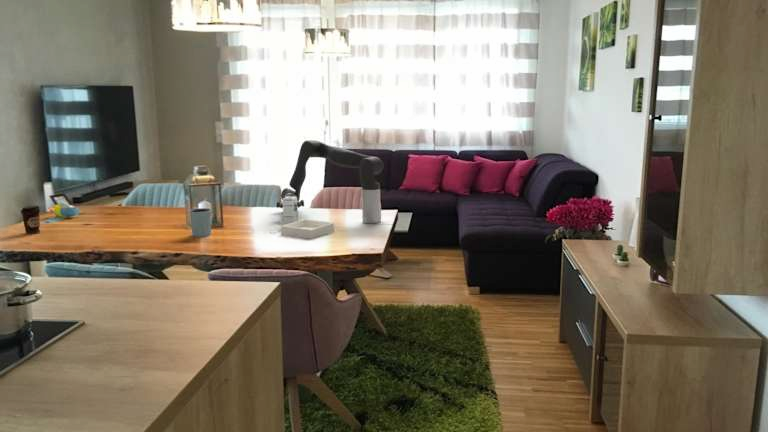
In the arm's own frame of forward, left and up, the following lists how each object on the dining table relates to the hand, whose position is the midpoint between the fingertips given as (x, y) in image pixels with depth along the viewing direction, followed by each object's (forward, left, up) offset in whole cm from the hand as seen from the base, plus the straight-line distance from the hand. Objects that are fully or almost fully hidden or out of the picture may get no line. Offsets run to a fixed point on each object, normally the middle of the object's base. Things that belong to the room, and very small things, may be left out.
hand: (290, 206), depth 332 cm
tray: (+15, +23, -8) cm, 29 cm away
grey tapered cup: (+43, -19, -9) cm, 48 cm away
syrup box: (+6, +5, -9) cm, 12 cm away
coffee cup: (+81, -95, -9) cm, 125 cm away
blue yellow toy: (+50, -118, -9) cm, 129 cm away
